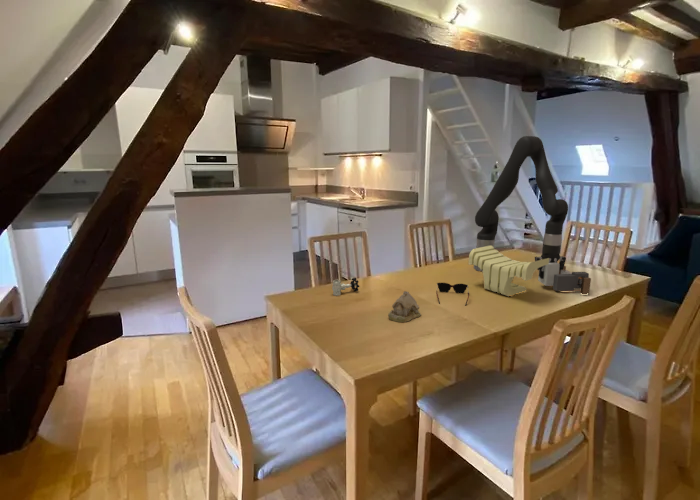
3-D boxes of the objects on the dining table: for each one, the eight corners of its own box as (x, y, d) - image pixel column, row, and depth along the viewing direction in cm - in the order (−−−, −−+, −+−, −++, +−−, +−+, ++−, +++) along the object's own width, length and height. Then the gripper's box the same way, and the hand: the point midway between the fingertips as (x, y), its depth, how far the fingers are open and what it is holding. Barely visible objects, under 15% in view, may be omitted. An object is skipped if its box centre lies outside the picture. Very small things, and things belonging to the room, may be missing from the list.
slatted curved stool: (467, 285, 192) (469, 249, 188) (488, 279, 200) (491, 245, 196) (522, 304, 167) (527, 263, 163) (544, 296, 176) (549, 257, 172)
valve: (335, 297, 177) (359, 293, 182) (335, 283, 175) (359, 279, 181) (329, 293, 182) (352, 289, 188) (329, 279, 181) (352, 275, 186)
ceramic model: (399, 307, 165) (399, 284, 162) (424, 313, 159) (425, 289, 157) (383, 319, 153) (383, 294, 151) (410, 325, 147) (410, 300, 145)
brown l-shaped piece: (567, 296, 176) (569, 278, 174) (543, 281, 197) (545, 265, 195) (589, 295, 177) (592, 278, 175) (563, 281, 197) (565, 265, 195)
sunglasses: (467, 294, 181) (467, 284, 179) (469, 309, 166) (470, 298, 164) (436, 292, 184) (436, 282, 182) (435, 306, 169) (436, 295, 167)
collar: (556, 290, 180) (558, 274, 178) (552, 288, 183) (554, 272, 181) (586, 290, 180) (588, 273, 179) (582, 288, 183) (584, 271, 182)
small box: (557, 286, 183) (560, 264, 180) (545, 286, 183) (547, 264, 180) (549, 280, 190) (551, 259, 188) (537, 280, 191) (540, 259, 188)
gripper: (562, 241, 186) (558, 275, 190) (532, 241, 185) (529, 276, 189) (572, 244, 179) (567, 280, 183) (540, 245, 178) (536, 280, 182)
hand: (548, 278), depth 186 cm, fingers closed on small box, 5 cm apart
